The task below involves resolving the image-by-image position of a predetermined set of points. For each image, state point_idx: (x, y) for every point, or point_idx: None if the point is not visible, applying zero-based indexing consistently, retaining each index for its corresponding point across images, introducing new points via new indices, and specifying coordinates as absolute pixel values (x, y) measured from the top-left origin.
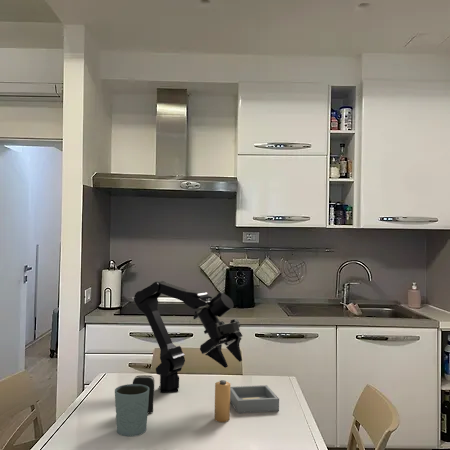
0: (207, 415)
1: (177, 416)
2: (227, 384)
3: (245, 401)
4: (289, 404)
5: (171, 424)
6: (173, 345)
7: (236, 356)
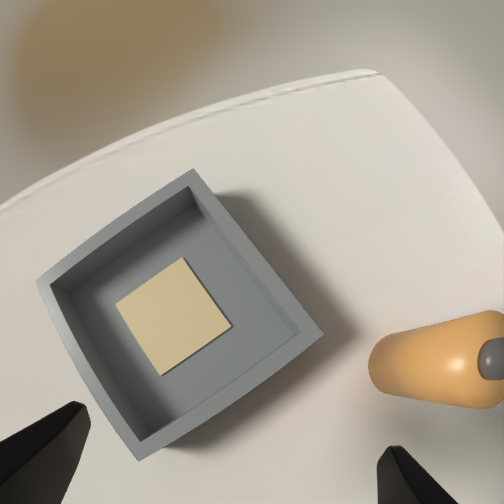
0: (389, 431)
1: None
2: (487, 328)
3: (297, 302)
4: (117, 184)
5: (488, 464)
6: None
7: (62, 474)
